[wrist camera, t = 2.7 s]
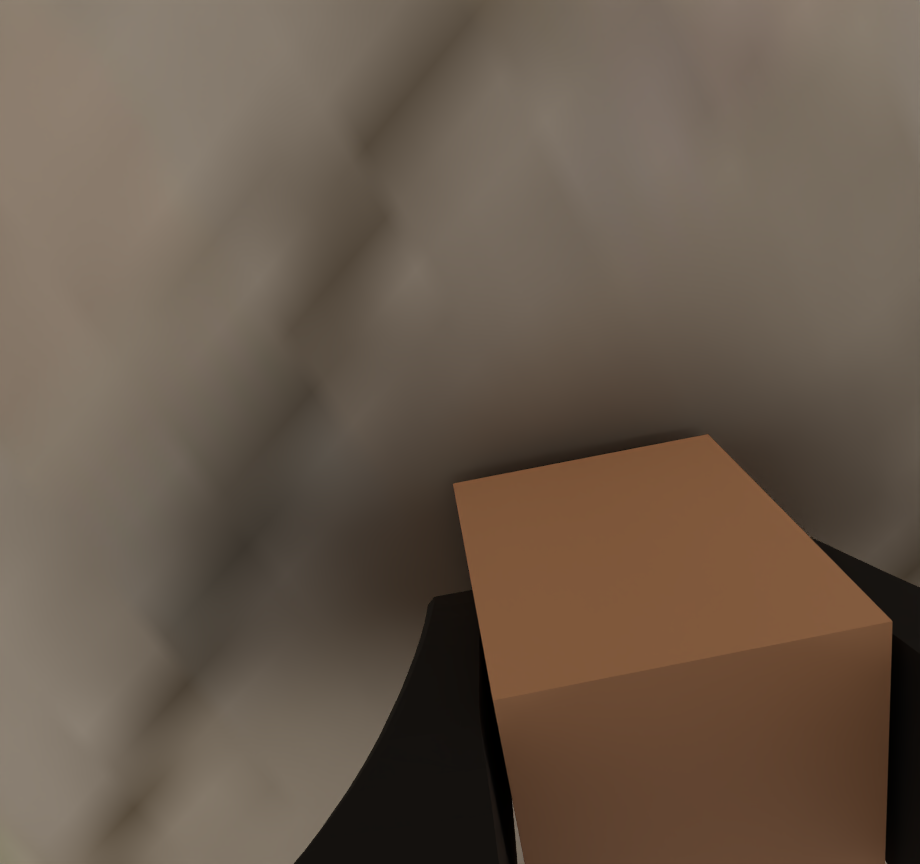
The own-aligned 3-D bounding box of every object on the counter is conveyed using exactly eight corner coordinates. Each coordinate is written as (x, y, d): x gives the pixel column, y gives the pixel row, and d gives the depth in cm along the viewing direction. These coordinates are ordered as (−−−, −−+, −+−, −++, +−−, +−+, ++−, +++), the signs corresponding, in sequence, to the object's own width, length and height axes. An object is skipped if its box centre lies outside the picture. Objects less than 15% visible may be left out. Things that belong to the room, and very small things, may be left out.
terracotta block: (707, 434, 13) (891, 621, 8) (720, 645, 14) (883, 906, 10) (452, 483, 13) (492, 699, 8) (492, 691, 14) (545, 974, 10)
